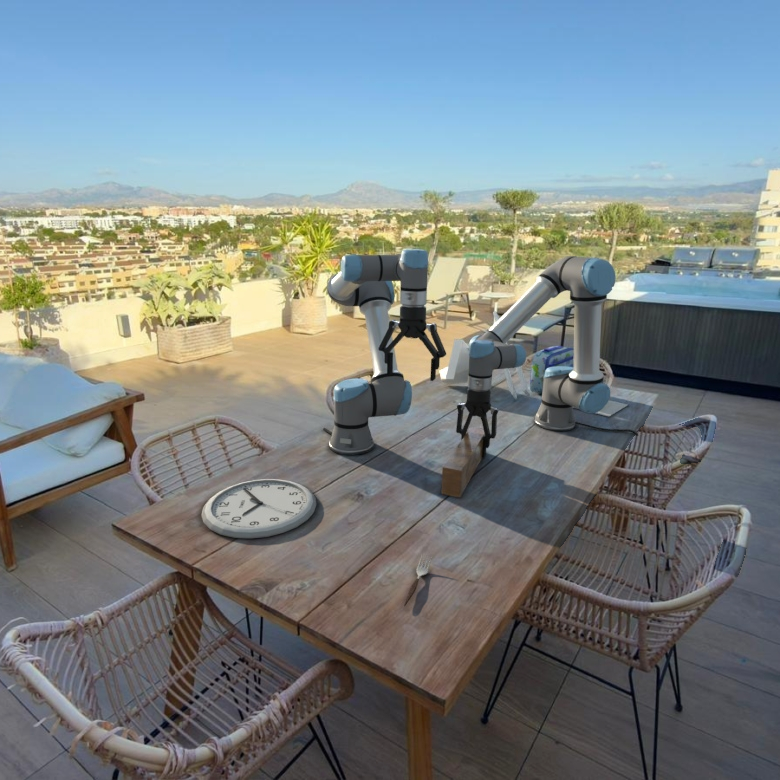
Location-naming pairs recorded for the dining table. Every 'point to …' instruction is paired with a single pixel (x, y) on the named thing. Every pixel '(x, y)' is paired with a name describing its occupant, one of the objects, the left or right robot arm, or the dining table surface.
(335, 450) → the left robot arm
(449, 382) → the white plastic object
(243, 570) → the dining table surface
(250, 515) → the wall clock
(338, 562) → the dining table surface
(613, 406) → the invitation card
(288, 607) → the dining table surface
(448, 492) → the bar
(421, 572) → the fork
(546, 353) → the lunch box
